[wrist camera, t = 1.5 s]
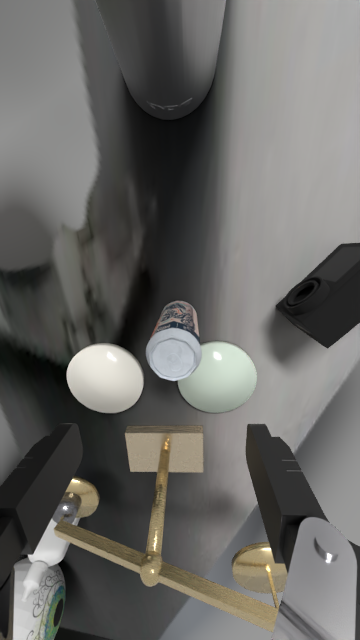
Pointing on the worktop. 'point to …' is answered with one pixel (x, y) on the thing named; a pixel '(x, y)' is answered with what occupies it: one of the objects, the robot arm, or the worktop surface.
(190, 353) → the beer can
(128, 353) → the glossy white dome
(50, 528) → the eye dropper bottle
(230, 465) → the worktop surface
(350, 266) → the digital camera
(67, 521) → the balance
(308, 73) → the worktop surface
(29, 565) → the decorative object
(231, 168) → the worktop surface
